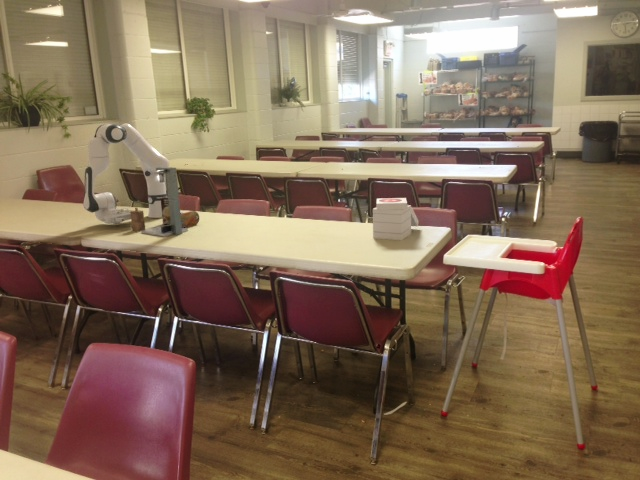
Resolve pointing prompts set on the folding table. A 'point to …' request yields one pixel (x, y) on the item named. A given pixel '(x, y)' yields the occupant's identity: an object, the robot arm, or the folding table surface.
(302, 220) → the folding table surface
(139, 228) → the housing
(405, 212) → the pizza boxes
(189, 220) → the tin
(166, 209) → the coffee box
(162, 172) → the press
